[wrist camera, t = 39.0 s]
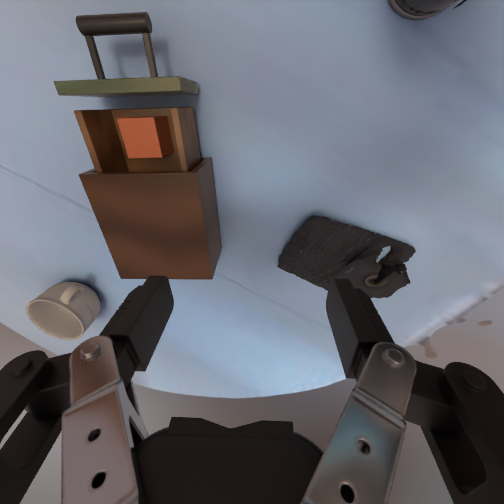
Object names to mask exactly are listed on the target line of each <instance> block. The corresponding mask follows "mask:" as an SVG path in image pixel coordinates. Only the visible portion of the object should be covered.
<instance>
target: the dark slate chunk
mask: <svg viewBox="0 0 504 504" xmlns="http://www.w3.org/2000/svg"><path fill="white" fill-rule="evenodd" d="M387 246H391V251H390V252H389V253H388V254H387V255H386V257H384V258H382V259H381V260H380V262H378V263H376V259H378V256H379V255H380V253H381V251H382V248H384V247H387ZM415 252H416V251H415V249H414V247H412V246H409V245H408V244H406V243H401V242H399V241H396V240H394V239H391V238H389V237H386V236H382V235H380V234H375V233H374V232H370V231H369V230H364V229H362V228H359V227H354V226H349V225H348V224H344V223H340V222H336V221H332V220H331V219H329V218H327V217H321V216H311V217H310V218H309V219H308V220H306V221H305V223H304V224H303V226H302V227H301V228H300V229H299V231H298V232H296V233H295V235H294V236H293V238H292V240H291V242H290V243H289V244H288V245H287V246H286V247H285V249H284V251H283V254H282V255H281V256H280V258H279V265H278V267H279V268H281V269H283V270H285V271H286V272H289V273H292V274H295V275H296V276H298V277H300V278H302V279H305V280H307V281H308V282H311V283H312V284H314V285H317V286H319V287H322V288H324V289H325V290H328V289H329V284H330V280H331V278H332V277H348V278H349V279H350V281H351V283H352V285H353V287H354V288H360V289H362V290H363V291H364V292H365V293H366V294H367V295H368V296H369V297H370V298H373V297H375V298H383V297H389V296H391V295H392V294H393V293H395V291H397V290H398V289H400V288H401V287H404V286H406V285H407V284H409V283H410V280H409V278H408V275H407V272H406V270H407V268H406V267H405V264H403V262H407V261H408V260H409V258H410V257H412V256H413V254H414V253H415ZM376 257H377V258H376ZM401 263H402V264H401Z"/></svg>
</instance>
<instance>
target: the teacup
mask: <svg viewBox="0 0 504 504" xmlns="http://www.w3.org/2000/svg"><path fill="white" fill-rule="evenodd" d="M100 308H101V306H100V301H99V299H98V296H97V294H96V293H95V292H94V291H93V290H92V289H91V288H90V287H88V286H86V285H84V284H81V283H77V282H62V283H58V284H56V285H54V286H52V287H51V288H49V289H48V290H46V291H45V292H44V293H42V294H41V295H39V296H38V297H37V298H36V299H34V300H32V301H30V302H29V303H28V304H27V306H26V313H27V315H28V317H29V319H30V320H31V321H32V323H33V324H34V325H36V326H37V327H38V328H39V329H41V330H42V331H44V332H46V333H47V334H49V335H51V336H54V337H56V338H60V339H65V340H74V339H78V338H80V337H81V336H82V335H83V334H84V332H85V331H86V330H87V328H88V327H89V326H90V325H91V324H92V323H93V321H94V320H95V319H96V317H97V316H98V314H99V312H100Z"/></svg>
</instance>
